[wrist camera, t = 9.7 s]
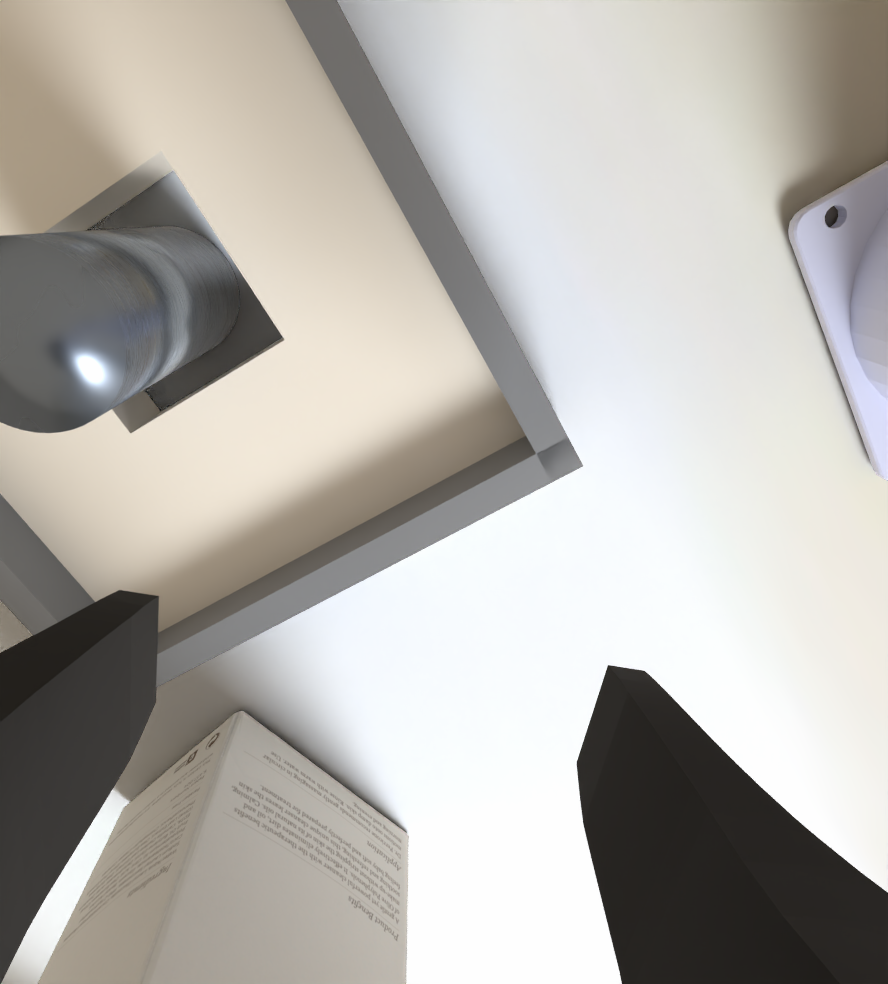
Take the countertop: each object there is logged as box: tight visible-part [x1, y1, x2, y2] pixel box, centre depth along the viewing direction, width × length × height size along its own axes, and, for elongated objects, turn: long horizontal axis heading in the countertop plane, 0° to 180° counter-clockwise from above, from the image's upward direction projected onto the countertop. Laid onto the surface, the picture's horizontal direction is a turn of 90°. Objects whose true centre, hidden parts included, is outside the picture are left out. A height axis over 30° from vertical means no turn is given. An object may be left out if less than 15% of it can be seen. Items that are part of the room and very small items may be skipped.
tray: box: [0, 0, 583, 687], centre depth 16 cm, size 14×18×4 cm
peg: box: [0, 226, 240, 433], centre depth 15 cm, size 3×3×7 cm
